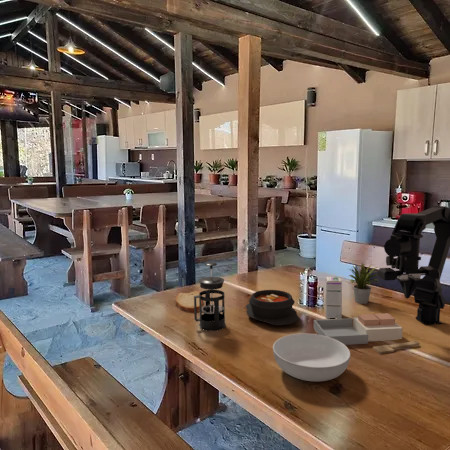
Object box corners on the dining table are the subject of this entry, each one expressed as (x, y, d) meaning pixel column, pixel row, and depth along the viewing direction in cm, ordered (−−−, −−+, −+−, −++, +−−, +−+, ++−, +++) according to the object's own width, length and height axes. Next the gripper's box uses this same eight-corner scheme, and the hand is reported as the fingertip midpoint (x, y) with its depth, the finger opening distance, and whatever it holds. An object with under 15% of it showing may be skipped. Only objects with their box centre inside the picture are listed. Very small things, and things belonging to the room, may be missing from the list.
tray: (351, 326, 146) (351, 318, 145) (367, 343, 132) (368, 334, 131) (313, 328, 145) (313, 319, 144) (326, 345, 131) (326, 336, 130)
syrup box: (341, 319, 152) (343, 281, 150) (325, 318, 153) (326, 280, 151) (340, 313, 157) (341, 276, 155) (324, 312, 159) (325, 276, 156)
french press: (221, 318, 154) (220, 258, 151) (231, 328, 146) (230, 264, 142) (191, 324, 150) (189, 262, 146) (199, 333, 141) (198, 268, 138)
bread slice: (197, 314, 160) (196, 305, 159) (161, 306, 169) (160, 297, 168) (221, 301, 175) (221, 292, 174) (187, 294, 184) (187, 286, 183)
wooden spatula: (413, 342, 132) (413, 339, 132) (421, 347, 129) (421, 344, 128) (372, 348, 128) (372, 345, 128) (379, 353, 125) (380, 350, 125)
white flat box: (386, 326, 145) (386, 315, 144) (401, 339, 134) (402, 328, 134) (352, 327, 144) (353, 316, 144) (366, 341, 133) (366, 329, 133)
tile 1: (372, 319, 141) (372, 313, 141) (378, 325, 136) (379, 319, 136) (358, 320, 141) (358, 314, 140) (364, 326, 136) (364, 320, 135)
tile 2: (387, 318, 141) (388, 313, 141) (395, 324, 136) (395, 318, 136) (373, 319, 141) (373, 313, 141) (380, 325, 136) (380, 319, 136)
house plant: (361, 311, 160) (363, 270, 157) (335, 300, 172) (336, 262, 169) (386, 304, 167) (388, 264, 164) (359, 294, 179) (360, 257, 176)
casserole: (312, 324, 148) (312, 301, 147) (266, 334, 140) (266, 310, 139) (275, 303, 170) (275, 283, 169) (234, 310, 163) (234, 289, 162)
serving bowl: (336, 401, 101) (337, 375, 100) (259, 378, 112) (259, 354, 111) (358, 365, 118) (359, 342, 117) (290, 348, 129) (290, 327, 128)
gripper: (423, 246, 144) (420, 289, 147) (371, 248, 143) (369, 291, 145) (442, 253, 133) (439, 300, 136) (386, 255, 132) (384, 302, 134)
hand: (406, 298), depth 138 cm, fingers closed
